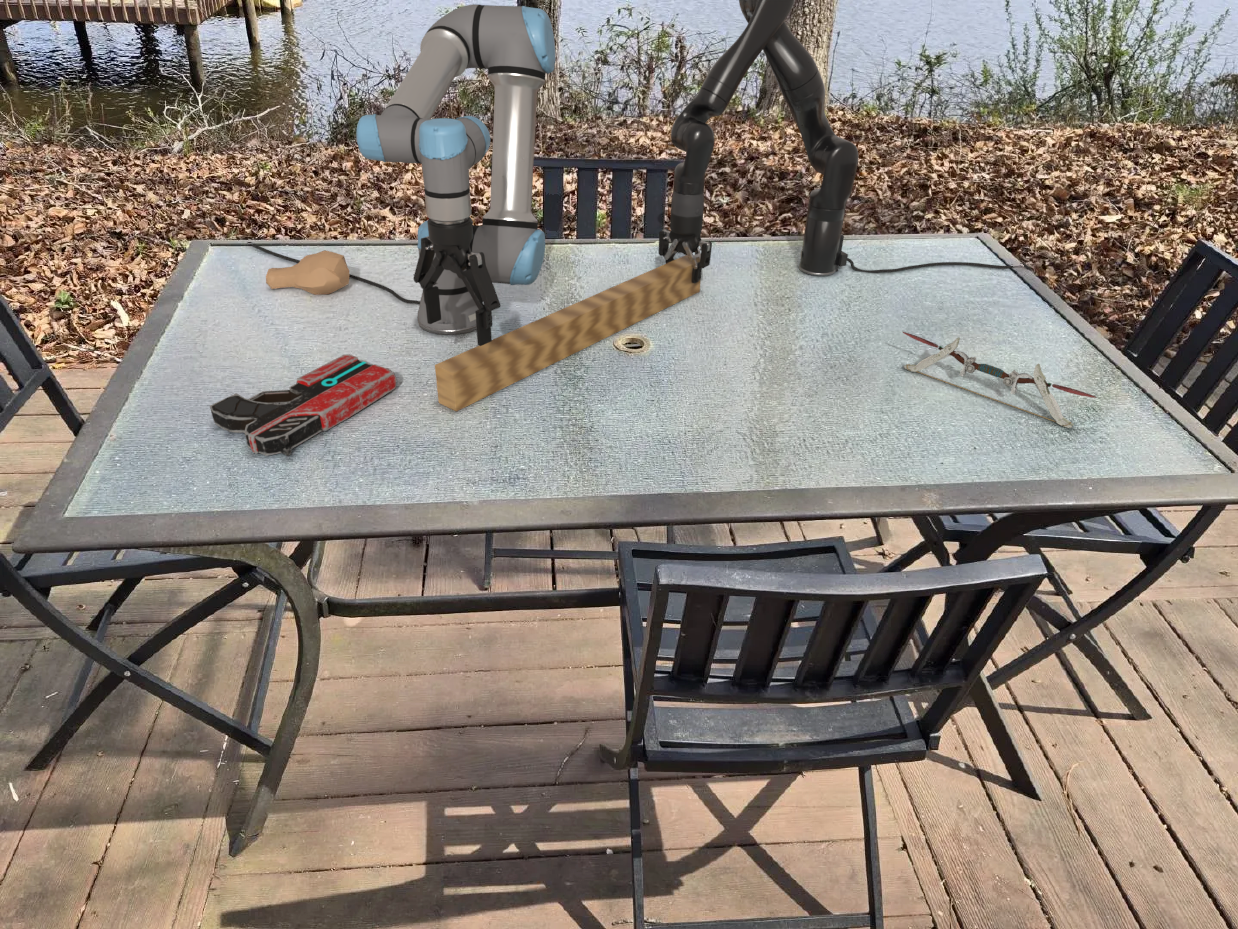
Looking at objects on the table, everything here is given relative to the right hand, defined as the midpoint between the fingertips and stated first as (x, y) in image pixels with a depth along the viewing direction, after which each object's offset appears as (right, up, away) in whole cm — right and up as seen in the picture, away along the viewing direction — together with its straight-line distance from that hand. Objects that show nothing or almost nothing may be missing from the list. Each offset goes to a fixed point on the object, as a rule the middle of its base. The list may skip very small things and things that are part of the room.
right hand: (682, 278), depth 211 cm
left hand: (-45, -21, -51) cm, 71 cm away
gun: (-73, -35, -48) cm, 94 cm away
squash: (-89, -3, -1) cm, 89 cm away
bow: (+57, -32, -38) cm, 75 cm away
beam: (-23, -18, -21) cm, 35 cm away
